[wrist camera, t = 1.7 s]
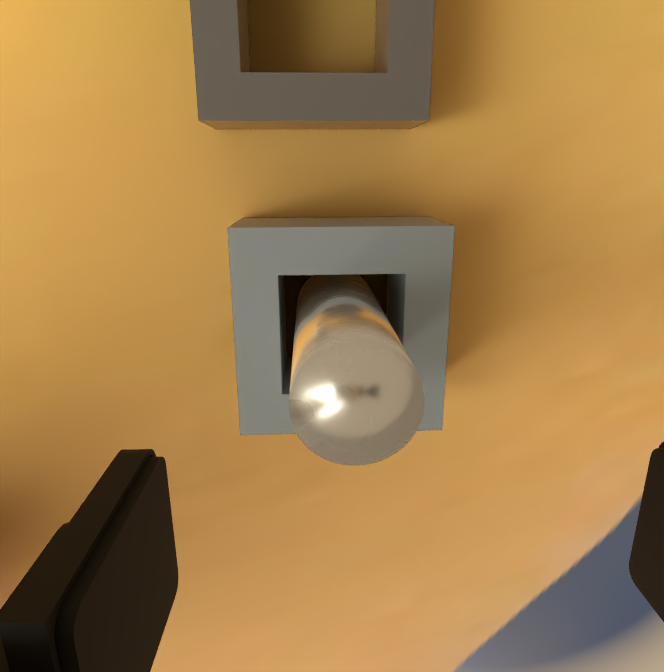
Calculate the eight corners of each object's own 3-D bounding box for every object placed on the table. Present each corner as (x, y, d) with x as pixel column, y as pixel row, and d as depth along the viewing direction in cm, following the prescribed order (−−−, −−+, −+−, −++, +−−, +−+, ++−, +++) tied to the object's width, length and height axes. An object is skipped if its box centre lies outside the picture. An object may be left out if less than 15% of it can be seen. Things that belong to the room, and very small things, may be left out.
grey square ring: (410, 128, 25) (429, 120, 21) (215, 129, 24) (198, 120, 20) (418, -103, 22) (441, -162, 18) (200, -106, 22) (177, -168, 18)
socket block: (419, 387, 28) (442, 429, 24) (251, 390, 28) (240, 435, 23) (427, 216, 26) (454, 225, 21) (242, 218, 25) (227, 227, 21)
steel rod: (373, 343, 28) (421, 463, 16) (297, 345, 27) (290, 467, 16) (375, 267, 26) (428, 338, 15) (295, 268, 26) (286, 341, 15)
